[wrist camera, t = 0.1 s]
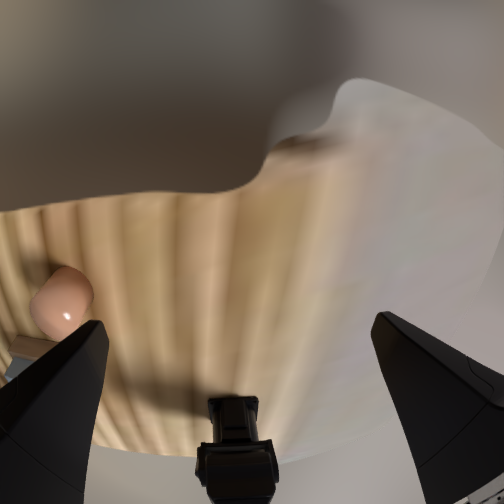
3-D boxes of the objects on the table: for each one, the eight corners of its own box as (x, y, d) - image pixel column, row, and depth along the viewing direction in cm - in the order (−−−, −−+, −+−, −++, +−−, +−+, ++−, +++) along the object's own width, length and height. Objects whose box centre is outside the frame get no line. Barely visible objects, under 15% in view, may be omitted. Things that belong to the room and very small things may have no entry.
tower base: (82, 381, 30) (76, 400, 27) (41, 373, 29) (33, 390, 26) (61, 340, 27) (51, 360, 23) (18, 333, 26) (7, 350, 23)
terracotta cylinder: (99, 309, 25) (82, 343, 20) (60, 307, 24) (41, 337, 20) (86, 266, 22) (64, 297, 18) (47, 266, 22) (22, 293, 17)
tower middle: (70, 397, 27) (63, 417, 24) (35, 388, 26) (27, 406, 23) (50, 365, 24) (40, 386, 21) (14, 356, 23) (4, 375, 20)
